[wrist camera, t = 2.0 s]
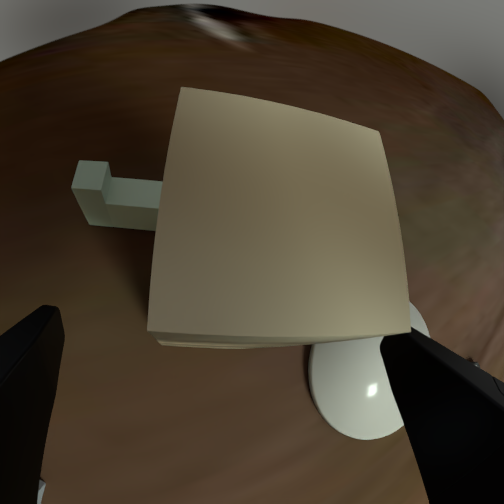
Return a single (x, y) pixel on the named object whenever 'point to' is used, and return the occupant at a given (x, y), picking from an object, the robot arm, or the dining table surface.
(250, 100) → the beech block
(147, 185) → the fence
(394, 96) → the dining table surface
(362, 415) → the coaster
